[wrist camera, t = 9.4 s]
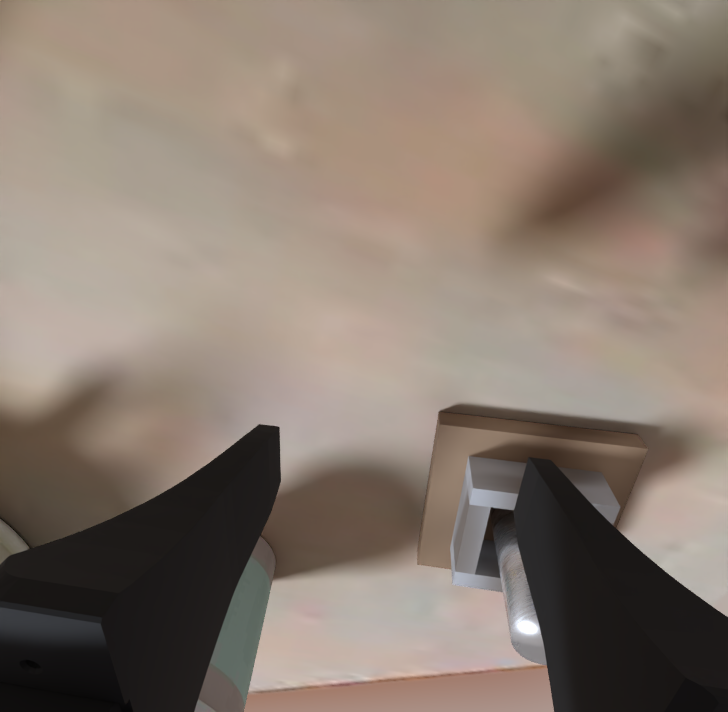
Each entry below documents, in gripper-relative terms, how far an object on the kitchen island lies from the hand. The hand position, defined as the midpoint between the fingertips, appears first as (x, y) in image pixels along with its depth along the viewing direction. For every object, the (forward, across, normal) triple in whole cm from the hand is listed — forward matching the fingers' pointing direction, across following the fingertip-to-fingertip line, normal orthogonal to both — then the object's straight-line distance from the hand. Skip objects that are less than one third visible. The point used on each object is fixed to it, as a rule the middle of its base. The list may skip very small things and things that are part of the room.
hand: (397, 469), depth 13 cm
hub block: (+10, -7, +9) cm, 15 cm away
